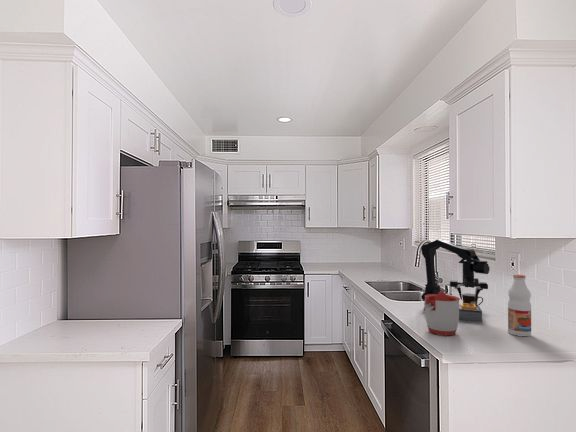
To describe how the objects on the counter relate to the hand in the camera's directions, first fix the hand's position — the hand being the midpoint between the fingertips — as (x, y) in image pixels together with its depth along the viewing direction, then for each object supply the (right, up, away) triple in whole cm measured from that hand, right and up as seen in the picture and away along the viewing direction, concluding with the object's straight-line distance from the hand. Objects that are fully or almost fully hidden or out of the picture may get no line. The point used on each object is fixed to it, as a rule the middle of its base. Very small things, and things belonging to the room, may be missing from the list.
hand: (468, 300), depth 204 cm
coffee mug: (+10, -11, +15) cm, 21 cm away
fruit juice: (+11, -10, -28) cm, 31 cm away
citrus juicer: (-26, -10, -26) cm, 38 cm away
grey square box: (0, -10, 0) cm, 10 cm away
